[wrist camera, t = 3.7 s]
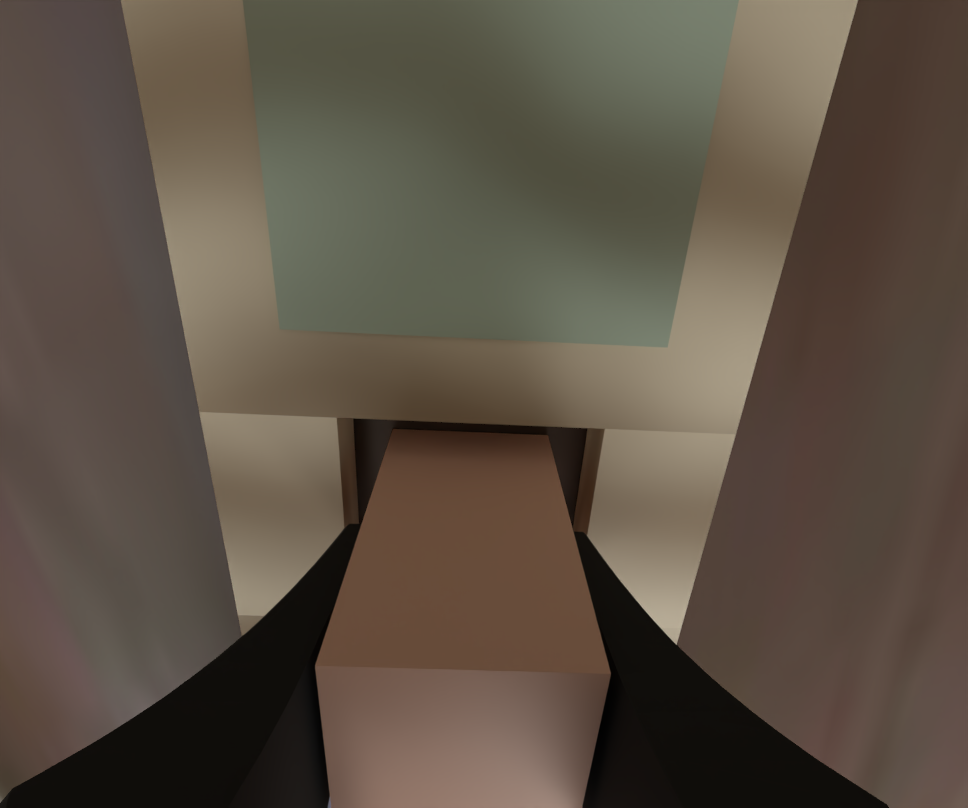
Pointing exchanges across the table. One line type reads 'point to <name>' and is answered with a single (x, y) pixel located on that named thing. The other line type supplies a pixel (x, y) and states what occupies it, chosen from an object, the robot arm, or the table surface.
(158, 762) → the robot arm
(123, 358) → the table surface
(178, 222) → the board
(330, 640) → the terracotta block
